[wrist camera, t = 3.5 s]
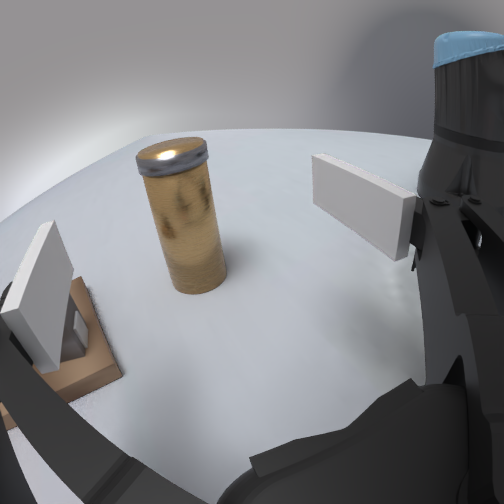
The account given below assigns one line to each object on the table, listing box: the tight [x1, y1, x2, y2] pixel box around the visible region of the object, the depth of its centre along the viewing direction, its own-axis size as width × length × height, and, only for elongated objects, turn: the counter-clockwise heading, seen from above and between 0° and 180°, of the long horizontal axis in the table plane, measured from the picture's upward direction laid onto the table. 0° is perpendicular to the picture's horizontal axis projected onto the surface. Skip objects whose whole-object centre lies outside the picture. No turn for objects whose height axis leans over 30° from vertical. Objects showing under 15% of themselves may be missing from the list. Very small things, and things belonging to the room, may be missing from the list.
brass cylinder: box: [136, 137, 227, 294], centre depth 25 cm, size 5×5×12 cm
